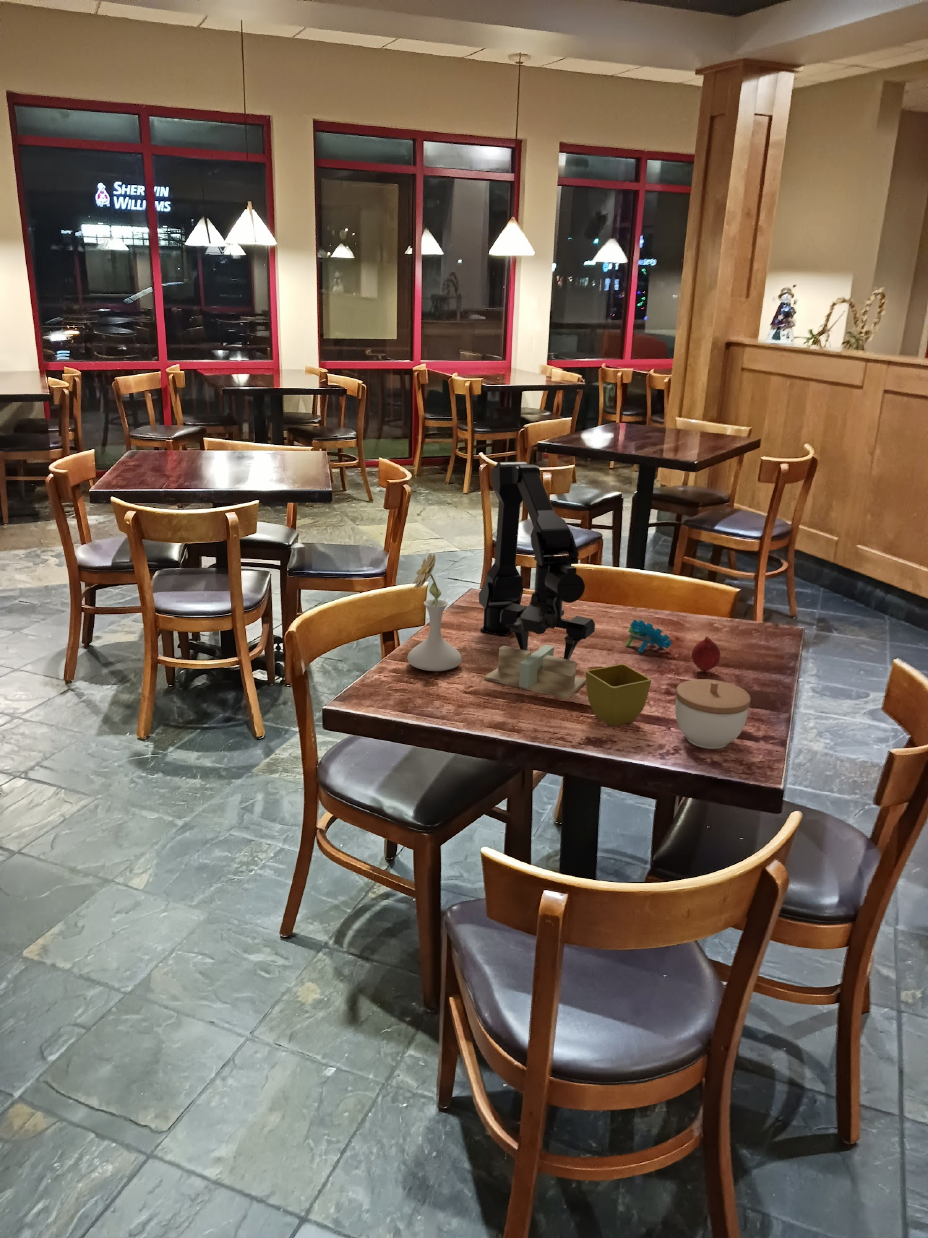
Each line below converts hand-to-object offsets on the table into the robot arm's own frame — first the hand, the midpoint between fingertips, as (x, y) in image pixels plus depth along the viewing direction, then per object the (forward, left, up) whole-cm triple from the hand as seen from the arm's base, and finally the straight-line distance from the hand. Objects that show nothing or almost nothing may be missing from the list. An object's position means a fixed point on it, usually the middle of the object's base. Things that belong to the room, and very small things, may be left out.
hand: (544, 660), depth 188 cm
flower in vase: (-21, -9, -3) cm, 23 cm away
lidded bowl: (+37, -12, -3) cm, 39 cm away
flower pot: (+20, -13, -3) cm, 24 cm away
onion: (+28, +20, -3) cm, 35 cm away
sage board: (0, -4, -2) cm, 5 cm away
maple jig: (0, -4, -3) cm, 5 cm away
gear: (+14, +26, -3) cm, 30 cm away
